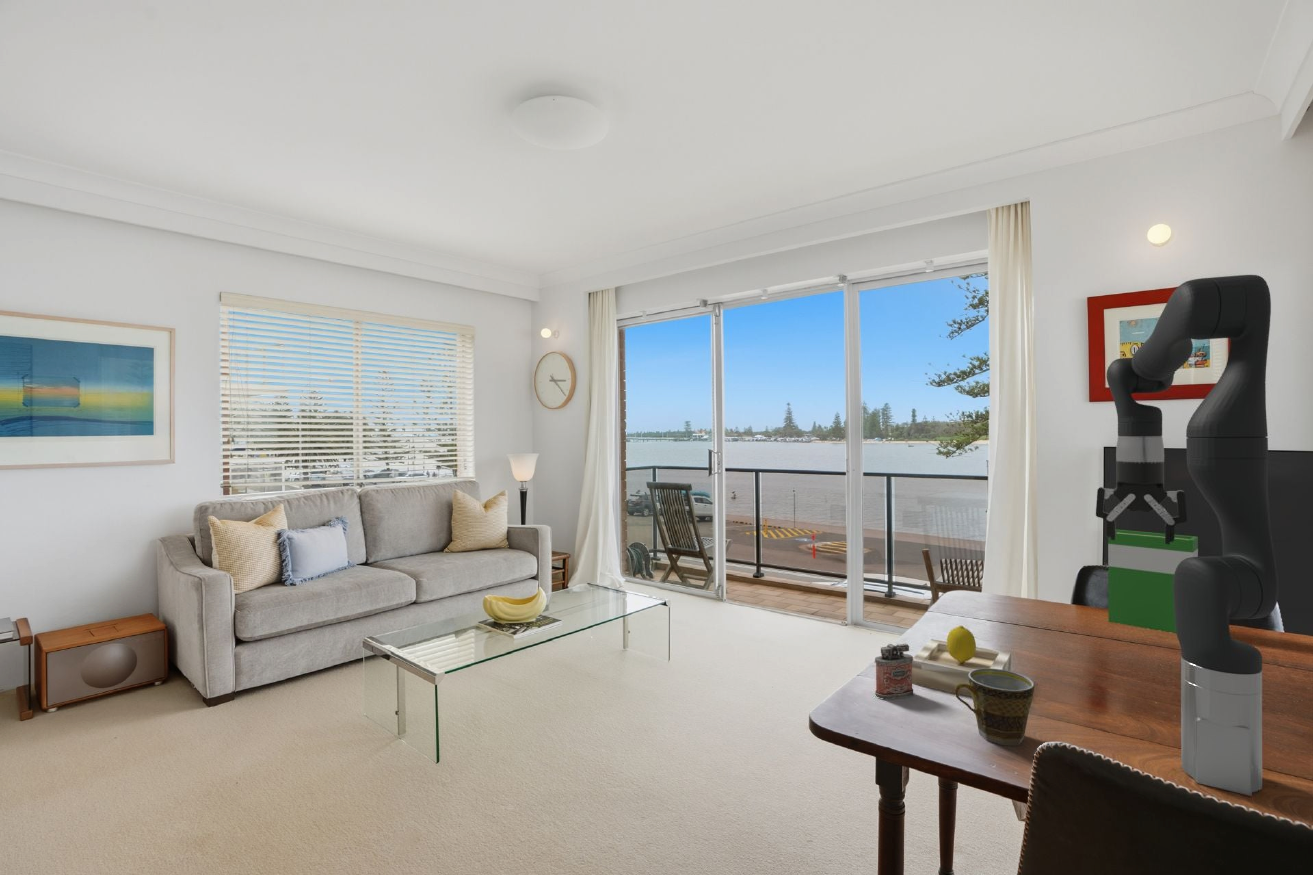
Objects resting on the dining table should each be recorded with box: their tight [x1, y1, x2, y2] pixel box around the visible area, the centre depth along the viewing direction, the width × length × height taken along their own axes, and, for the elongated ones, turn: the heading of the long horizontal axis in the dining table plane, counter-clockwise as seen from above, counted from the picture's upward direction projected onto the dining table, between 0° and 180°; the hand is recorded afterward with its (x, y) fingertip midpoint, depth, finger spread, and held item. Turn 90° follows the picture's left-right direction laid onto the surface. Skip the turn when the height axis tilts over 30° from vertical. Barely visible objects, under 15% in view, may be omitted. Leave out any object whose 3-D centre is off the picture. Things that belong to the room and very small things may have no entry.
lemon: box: [946, 625, 977, 664], centre depth 136 cm, size 6×6×8 cm
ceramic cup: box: [954, 668, 1035, 747], centre depth 111 cm, size 13×10×10 cm
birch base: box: [912, 638, 1012, 698], centre depth 136 cm, size 16×16×6 cm
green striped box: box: [1107, 528, 1199, 635], centre depth 170 cm, size 18×7×24 cm, turn 43°
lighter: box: [874, 643, 914, 700], centre depth 129 cm, size 8×3×10 cm, turn 105°
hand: (1139, 541), depth 127 cm, fingers open, 8 cm apart
